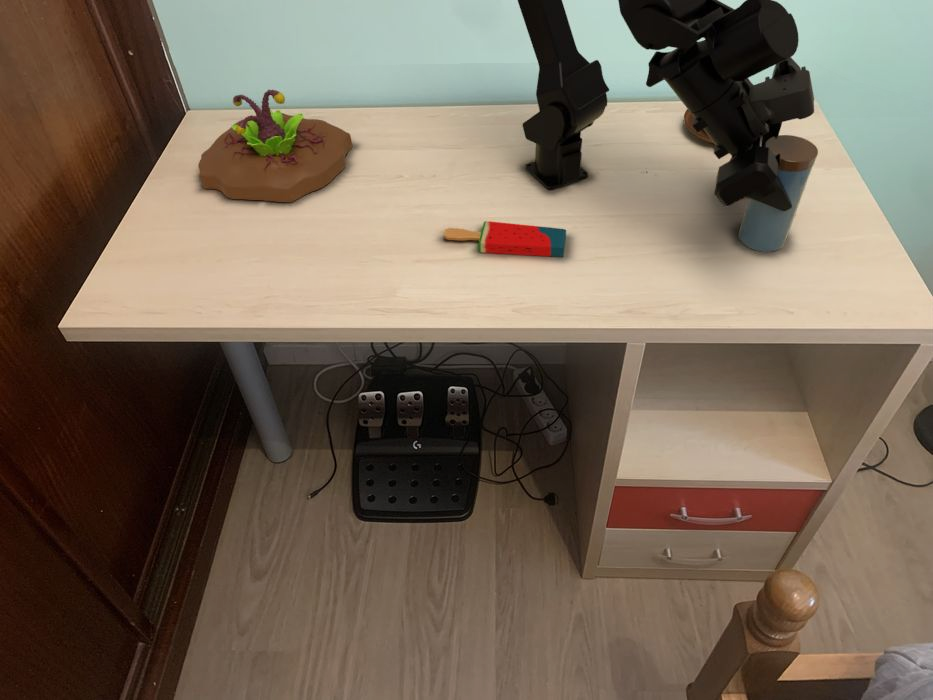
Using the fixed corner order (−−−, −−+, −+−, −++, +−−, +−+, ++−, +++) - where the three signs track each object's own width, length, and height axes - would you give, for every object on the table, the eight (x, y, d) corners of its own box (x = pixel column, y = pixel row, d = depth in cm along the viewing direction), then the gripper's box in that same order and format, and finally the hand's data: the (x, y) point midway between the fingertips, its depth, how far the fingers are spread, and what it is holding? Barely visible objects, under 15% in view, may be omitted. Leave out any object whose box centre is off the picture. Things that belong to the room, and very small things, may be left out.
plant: (305, 214, 96) (287, 138, 88) (180, 189, 101) (153, 114, 93) (370, 139, 109) (360, 66, 101) (256, 119, 114) (238, 48, 106)
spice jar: (736, 247, 89) (764, 157, 80) (739, 221, 93) (766, 131, 84) (784, 256, 88) (818, 165, 79) (785, 228, 91) (818, 138, 82)
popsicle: (447, 217, 93) (566, 227, 91) (448, 227, 94) (565, 236, 92) (440, 239, 89) (563, 249, 87) (441, 249, 91) (562, 259, 88)
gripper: (779, 90, 68) (863, 207, 74) (783, 11, 80) (855, 116, 86) (677, 153, 76) (760, 255, 81) (695, 72, 88) (767, 165, 93)
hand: (788, 194), depth 85 cm, fingers closed on spice jar, 5 cm apart
